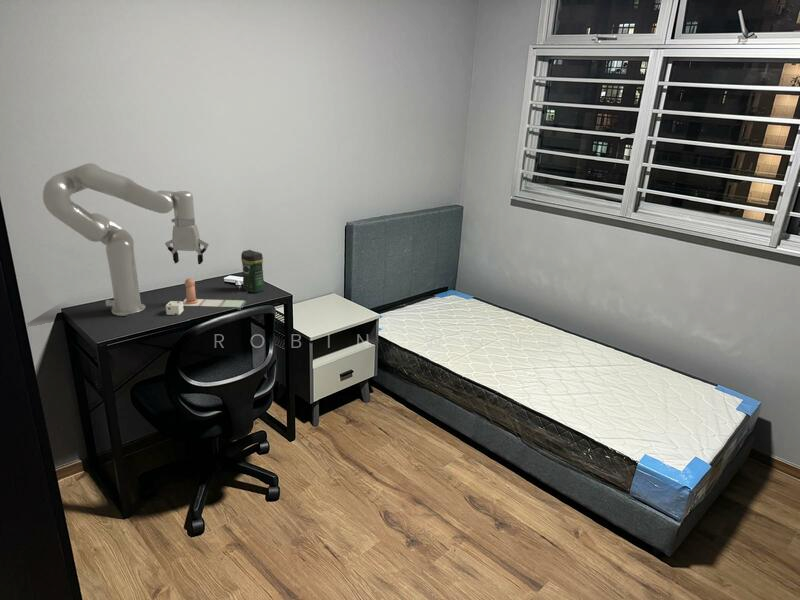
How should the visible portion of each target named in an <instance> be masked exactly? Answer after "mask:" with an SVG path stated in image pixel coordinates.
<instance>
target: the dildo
mask: <svg viewBox="0 0 800 600" xmlns="http://www.w3.org/2000/svg"><path fill="white" fill-rule="evenodd" d="M195 284H196V281H195V280H194V279H193V278H186V279H185V281H184V285H185V293H186V294H185V295H186V299H187V300H186V304H196V303H197V302H198V300H197V299H198V298H197V296H196V285H195Z"/></svg>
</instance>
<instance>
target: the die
mask: <svg viewBox="0 0 800 600" xmlns="http://www.w3.org/2000/svg"><path fill="white" fill-rule="evenodd" d="M183 301H184V300H183ZM183 301H180V300H179V301H178V300H176V301H175V300H171V301H169V302H168V303H167V304H165V312H166V315H169V316H170V315H171V316H180V315H181V314H182V313H183V312H184V311H185V310H184V306H183Z"/></svg>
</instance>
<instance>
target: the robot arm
mask: <svg viewBox="0 0 800 600" xmlns="http://www.w3.org/2000/svg"><path fill="white" fill-rule="evenodd" d="M86 189H89V190H93V191H95V192H99V193H101V194H104V195H107V196H111V197H113V198H117V199H120V200H123V201H125V202H126V203H130V204H133V205H135V206H137V207H140V208H142V209H145V210H149V211H152V212H155V213H159V214H167V213H169V212H170V211H172V210H173V213H174V215H173V216H174V218H171V223H173V224H174V225H173V226H172V233H171V235H172V237H171V238H172V239H170V240H168V241H166V242H165V243H164V245H165V246H166V249H167V250H168V251H169V252H170V253H171V254H172V259H173V262H174V264H178V263H179V261H180V259H179V252H178V251H184V252H196V253H197V264H198V265H201V264H203V262H204V256H203V254H204V253H205V252H206V251H207V250H208V247H209V243H207V242H205V241H203V240H202V239H201V238H200V232H199V229H198V226H197V224H196V222H195V221H196V219H195V207H194V205H195V204H194V196H193V193H192V192H191V191H187V190H178V191H172V190H158V191H155V190H151V189H149V188H146V187H143V186H141V185H140V184H138V183H137V182H135V181H134V180H132V179H130V178H129V177H126V176H123V175H120V174H118V173H114V172H112V171H108V170H105V169H103V168H102V167H101V166H99V165H98V164H95V163H92V162H91V163H90V162H89V163H88V162H87V163H85V164H82V165H79V166H77V167H74V168H71V169H69V170H66V171H63V172H60V173H57V174H54V175H53V176H51V178H49V179H48V180H47V181H46V182H45V184H44V186H43V190H42V202H43V204H44V206H45V209H46V210H47V211H48V212H49V214H51V215H52V216H53V217H55V218H56V219H57V220H59V221H60V222H62V223H63V224H65V225H66V226H68V227H69V228H70V229H71V230H73V231H74V232H76V233H77V234H79V235H80V236H82V237H83V238H85V239H86V240H88V241H90V242H93V243H95V242H96V243H98V242H100V243H102V244H103V245H104V246H105V251H106V259H107V262H108V268H109V275H110V281H111V287H112V288H111V289H112V292H113V293H112V295H113V300H110V299H106V300H105V306H106V307H111V313H112V314H113V315H115V316H118V317H119V316H120V317H124V316H125V317H126V316H128V315H129V314H130V315H131V314H135V313H140V312H141V311H143V310H145V309H146V305H145V304H143V303H142V301H141V294H140V288H139V281H138V280H139V279H138V272H137V265H136V259H135V249H134V248H135V247H134V241H135V240H134V238H133V236H132V235H131V233H129V232H128V231H127V230H125V229H124V228H122V227H121V226H120V225H118V224H117V223H115V222H114V221H113V220H111V219H110V218H108V217H106V216H105V215H104V214H100V213H97V212H93V213H91V212H89V211H87V210H86V209H85V208H83V207H82V206H81V205H79V204H77V203H75V202H74V201H72V199H71V196H72V195H73V194H77V193H78V192H81V191H84V190H86ZM171 245H172V246H171ZM201 246H203V248H201Z"/></svg>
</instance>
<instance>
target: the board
mask: <svg viewBox="0 0 800 600" xmlns="http://www.w3.org/2000/svg"><path fill="white" fill-rule="evenodd" d="M196 299H197V300H198V302H197V303H196V304H186V300H187V298H184V300H183V307H185V306H186V307H199V306H200V307H216V308H217V307H220V308H221V307H222V308H225V307H227V308H229V307H230V308H235V309H234V310H236V309H237V311H238V310H240V311H241V310H242V309H243V307H244V306H245V304H246V303H247V301H246V300H240V299H239V300H238V299H233V300H232V299H203V298H196ZM241 308H242V309H241Z"/></svg>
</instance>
